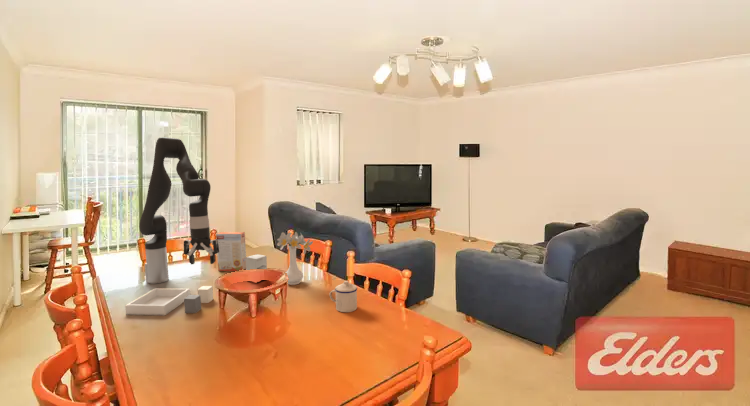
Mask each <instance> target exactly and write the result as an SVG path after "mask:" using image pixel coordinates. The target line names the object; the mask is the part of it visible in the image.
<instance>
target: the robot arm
mask: <svg viewBox="0 0 750 406" xmlns="http://www.w3.org/2000/svg"><path fill="white" fill-rule="evenodd" d="M153 158H154V159H153V165H152V170H151V175H150V180H149V184H148V189H147V195H146V198H145V205H144V207H143V210H142V213H141V216H140V219H139V223H138V224H139V226H138V227H139V232H140V234H141V235H143V236H153V235H154V236H153V237H151V239H149V240H148V241H146V242H145V244H144V249H145V262H146V263H144V273H145V283H148V284H160V283H161V284H162V283H165V282H167V281H169V278H170V277H169V266H168V264H169V263H168V254H167V251H168V250H167V241H168V240H167V239H168V231H167V228H168V227H167V226H168V225H167V220H166V217H164V215H161V214H156V213H157V211H158V210H159V209H160V208H161V207H162V205H163V204H164V203H165V202H166V201H167V200H168V198H169V197H170V194H171V191H172V190H171V189H172V180H171V178H170V175H169V174H168V172H167V170H166V168H165V159H178V162H177V164H176V166H175V170H176V173H177V175H178V177H179V178H180V180H181V183H182V191H183V194H184V195H186V196H187V197H191V198H192V197H199V199H197V200H196V201H192V202H190V203H189V206H188V207H189V209H188V210H189V231H190V232H189V233H190V238H191V239H185V240H183V254H184V255H187V256H188V260H189V261H188V262H189V263H190V265H194V264H196V263H195V255H194V254H195V252H196V251H206V253H208V254H209V261H210V262H209V263H210V265H214V264H215V262H216V255H217V253H219V245H218V240H217V239H216V238H215V239H211V232H210V231H211V230H210V219H209V215H208V214H209V211H208V203H209V198H210V194H211V183H210V182H209V180H207V179H205V178H199V173H198V171H197V170H196V169H195V167H194V165H193V164H192V161H191V159H190V157H189V154H188V151H187V148H186V145H185V144H184V142H183V141H182V139H179V138H175V137H166V136H160V137H158V138H157V140H156V142H155V148H154V156H153ZM211 245H212V246H213V247H212V246H211ZM190 246H192V247H191V248H190Z"/></svg>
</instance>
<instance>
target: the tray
mask: <svg viewBox="0 0 750 406" xmlns="http://www.w3.org/2000/svg"><path fill="white" fill-rule="evenodd" d="M189 295H191V288H173V287H171V288H166V287H165V288H163V287H162V288H160V287H158V288H157V287H154V288H153V289H151V290H150V291H147V292H146V293H144V294H142V295H141V296H138V297H137V298H136V299H134V300H131V301H130V302H128V303H127V304H125V306H124V308H125V309H124V310H125V315H126V316H166V315H168V314H169V313H170V312H172V311H173V310H174V309H176V308H177V307H179V306H180V305H182V304H184V298H186V297H187V296H189Z"/></svg>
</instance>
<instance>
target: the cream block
mask: <svg viewBox="0 0 750 406" xmlns="http://www.w3.org/2000/svg"><path fill="white" fill-rule="evenodd" d="M213 288H214V287H213V285H202V286H200V287H199V288H197V295H200V297H201V304H208V303H209V304H210V302H212V301H213V300H214V291H213Z"/></svg>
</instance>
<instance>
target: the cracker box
mask: <svg viewBox="0 0 750 406" xmlns="http://www.w3.org/2000/svg"><path fill="white" fill-rule="evenodd" d="M215 236H216V238H215V239H217V240H218V245H219V253H217V254H216V255H217V268H218V269H217V270H218V272H238V271H237V270H242V269H245V270H246V257H247V251H246V249H247V248H246V246H247V245H246V233H245V231H220V232H218V233H215Z"/></svg>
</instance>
